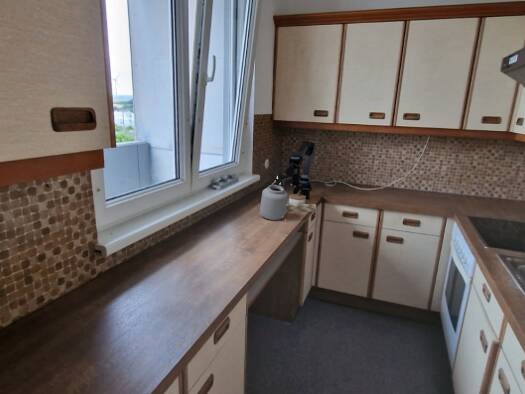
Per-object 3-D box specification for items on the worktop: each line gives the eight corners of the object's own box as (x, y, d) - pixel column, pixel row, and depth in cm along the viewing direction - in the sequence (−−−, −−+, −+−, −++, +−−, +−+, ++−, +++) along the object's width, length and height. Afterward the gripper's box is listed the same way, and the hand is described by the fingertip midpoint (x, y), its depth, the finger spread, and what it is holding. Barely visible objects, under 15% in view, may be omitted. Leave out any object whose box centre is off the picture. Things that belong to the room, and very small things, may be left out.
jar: (293, 221, 199) (295, 178, 193) (269, 224, 193) (271, 179, 187) (277, 212, 216) (279, 172, 209) (255, 215, 209) (256, 173, 203)
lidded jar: (307, 206, 230) (308, 192, 228) (301, 211, 221) (302, 196, 218) (291, 204, 234) (292, 190, 232) (285, 208, 225) (286, 194, 222)
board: (314, 210, 224) (314, 204, 223) (315, 211, 221) (316, 205, 220) (283, 210, 220) (283, 204, 219) (284, 211, 217) (284, 205, 216)
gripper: (280, 171, 236) (279, 193, 240) (286, 176, 219) (285, 201, 223) (296, 171, 238) (295, 193, 242) (304, 177, 220) (302, 201, 224)
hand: (294, 197), depth 233 cm, fingers closed
